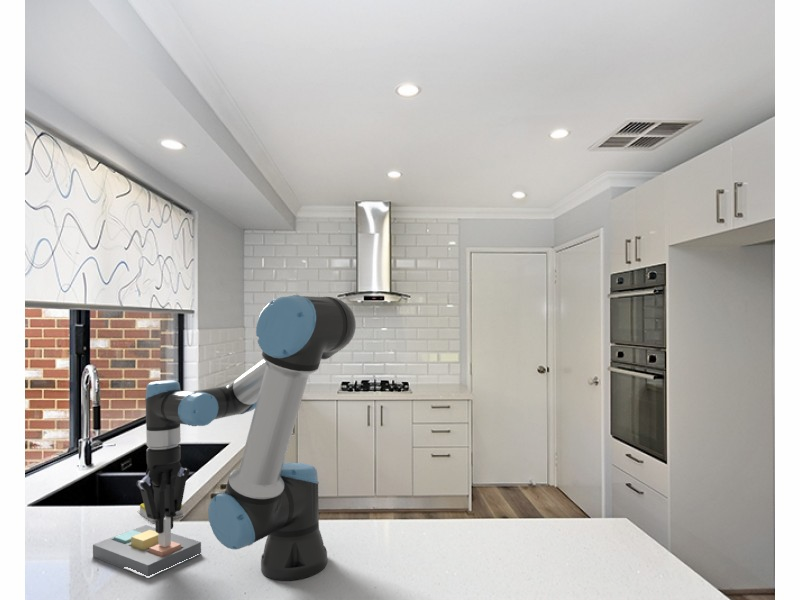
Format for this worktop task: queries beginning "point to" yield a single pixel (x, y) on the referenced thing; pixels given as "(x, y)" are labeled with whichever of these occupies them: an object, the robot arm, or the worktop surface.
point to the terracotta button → (164, 549)
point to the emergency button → (143, 513)
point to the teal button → (126, 536)
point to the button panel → (144, 553)
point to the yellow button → (144, 540)
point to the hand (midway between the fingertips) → (164, 544)
